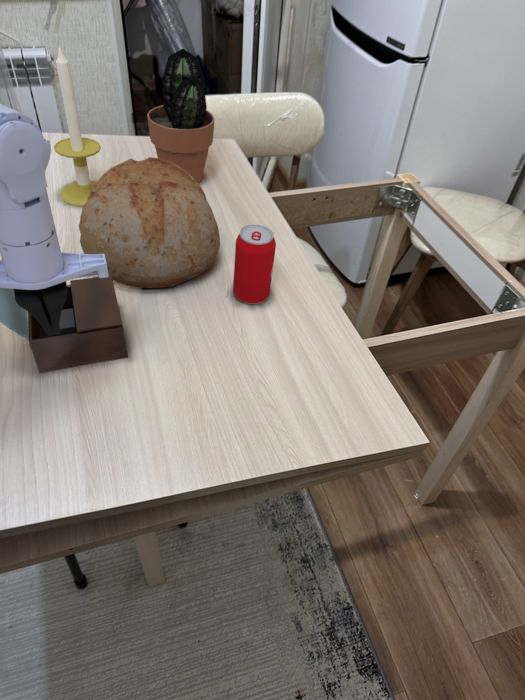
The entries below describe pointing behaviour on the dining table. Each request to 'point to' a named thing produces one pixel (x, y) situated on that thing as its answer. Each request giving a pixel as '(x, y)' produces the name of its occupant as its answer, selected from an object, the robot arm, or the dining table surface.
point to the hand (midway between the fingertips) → (53, 329)
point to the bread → (149, 224)
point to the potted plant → (183, 116)
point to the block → (66, 323)
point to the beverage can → (253, 264)
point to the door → (12, 313)
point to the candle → (74, 140)
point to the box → (82, 329)
